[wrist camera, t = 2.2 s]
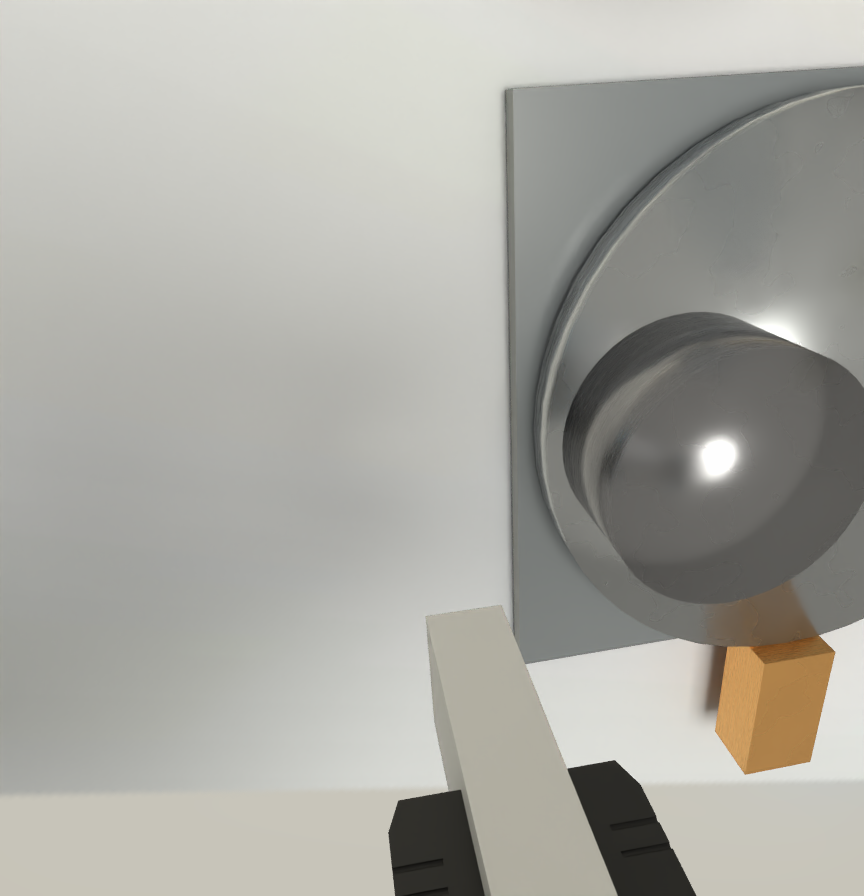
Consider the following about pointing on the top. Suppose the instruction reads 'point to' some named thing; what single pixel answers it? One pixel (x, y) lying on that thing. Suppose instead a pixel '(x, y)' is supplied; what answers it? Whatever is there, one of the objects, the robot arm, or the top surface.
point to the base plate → (556, 267)
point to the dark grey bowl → (716, 455)
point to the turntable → (765, 306)
